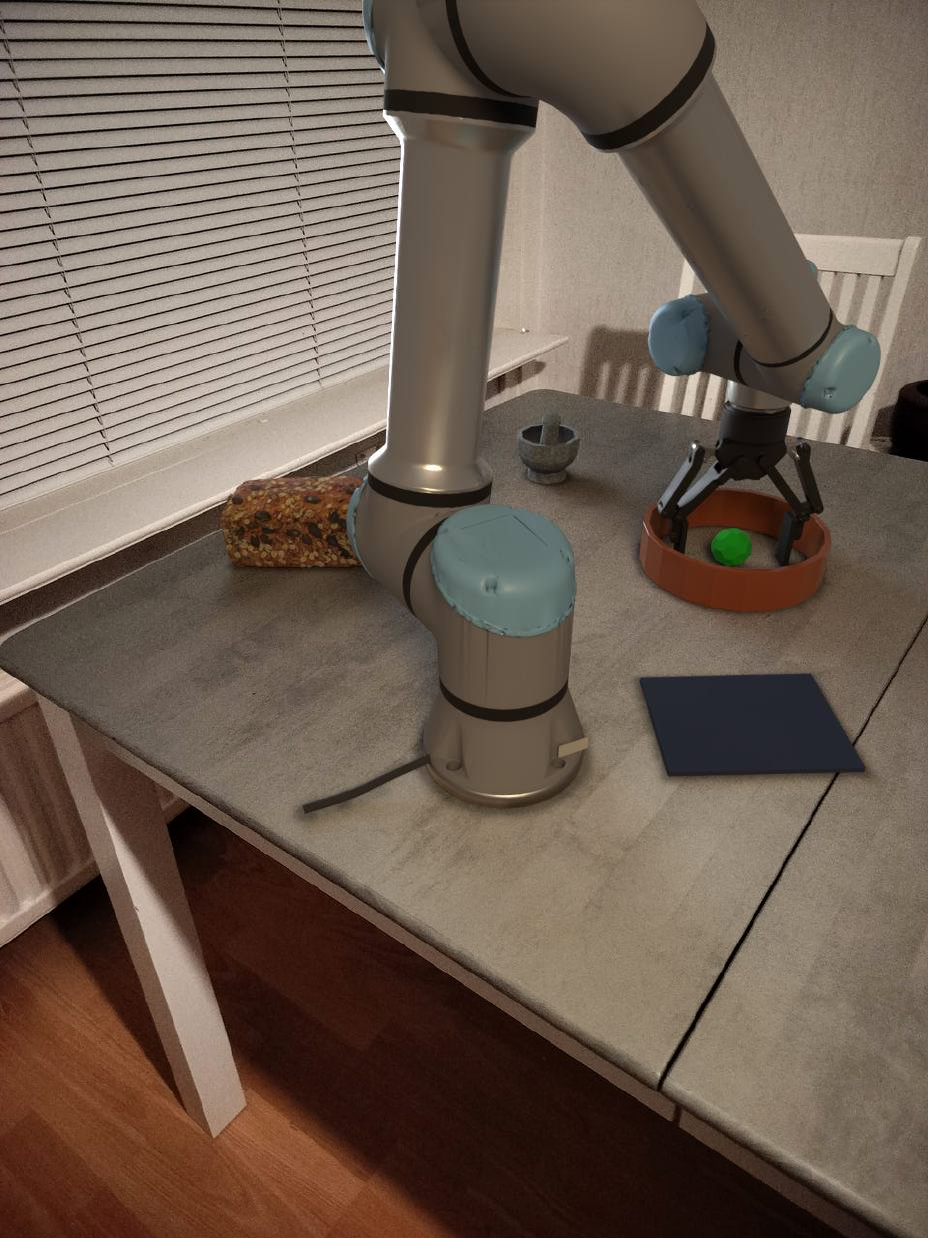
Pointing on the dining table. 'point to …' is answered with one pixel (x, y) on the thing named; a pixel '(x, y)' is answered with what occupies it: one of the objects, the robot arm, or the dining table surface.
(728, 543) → the polyhedron
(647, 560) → the orange bottomless ring
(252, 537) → the bread
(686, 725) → the mat
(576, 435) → the mortar and pestle
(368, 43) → the robot arm
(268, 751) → the dining table surface
